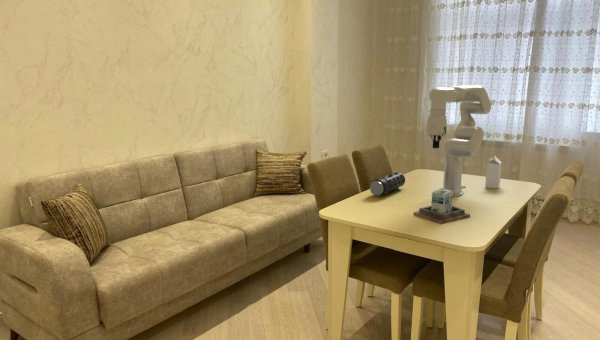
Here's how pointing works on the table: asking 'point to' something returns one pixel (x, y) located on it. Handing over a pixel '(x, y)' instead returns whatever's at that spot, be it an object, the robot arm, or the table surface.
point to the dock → (442, 215)
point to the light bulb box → (442, 201)
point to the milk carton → (493, 173)
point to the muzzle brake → (387, 184)
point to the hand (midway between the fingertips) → (435, 148)
